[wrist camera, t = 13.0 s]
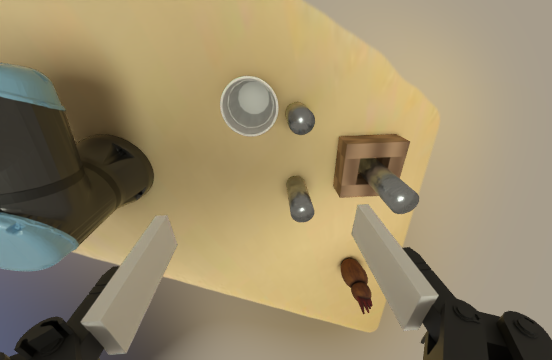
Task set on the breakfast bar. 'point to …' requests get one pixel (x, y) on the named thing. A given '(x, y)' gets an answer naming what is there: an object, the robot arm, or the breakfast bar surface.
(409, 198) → the long pin
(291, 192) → the medium pin
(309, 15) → the breakfast bar surface
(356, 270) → the wooden figurine
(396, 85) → the breakfast bar surface
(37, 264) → the robot arm
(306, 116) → the short pin
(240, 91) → the cup
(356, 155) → the hole block
